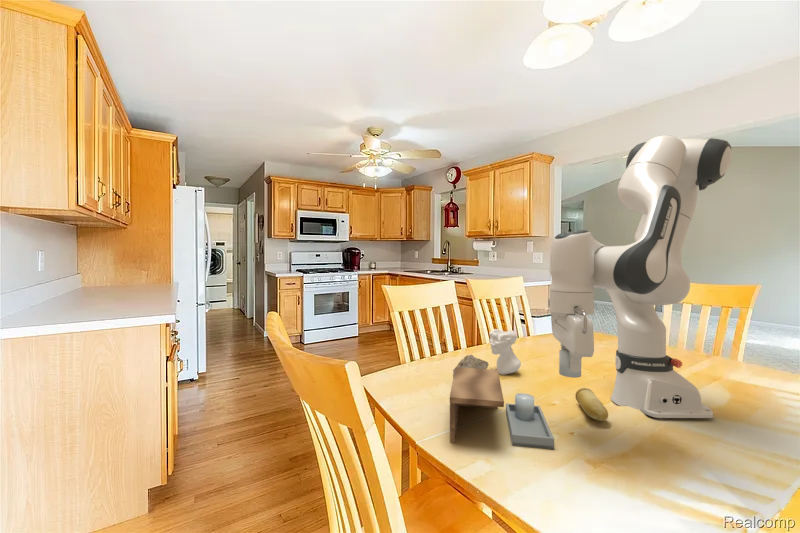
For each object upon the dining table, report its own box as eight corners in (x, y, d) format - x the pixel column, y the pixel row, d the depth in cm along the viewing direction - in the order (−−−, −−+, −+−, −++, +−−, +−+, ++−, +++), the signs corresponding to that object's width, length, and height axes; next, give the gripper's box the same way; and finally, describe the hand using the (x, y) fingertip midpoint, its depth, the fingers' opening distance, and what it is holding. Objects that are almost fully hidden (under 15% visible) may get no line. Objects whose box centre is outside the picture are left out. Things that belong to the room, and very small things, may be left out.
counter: (497, 407, 95) (497, 369, 95) (503, 450, 74) (503, 401, 74) (455, 404, 98) (455, 367, 97) (449, 444, 76) (449, 397, 76)
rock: (462, 385, 104) (468, 351, 108) (448, 384, 110) (454, 351, 113) (493, 395, 109) (498, 361, 113) (479, 393, 115) (483, 361, 118)
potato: (574, 404, 98) (574, 385, 98) (595, 406, 97) (596, 387, 96) (587, 427, 84) (587, 406, 84) (612, 430, 83) (612, 408, 83)
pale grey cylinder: (532, 414, 90) (532, 394, 90) (535, 421, 86) (535, 400, 85) (514, 412, 91) (514, 392, 91) (516, 420, 86) (516, 399, 86)
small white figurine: (526, 376, 121) (526, 331, 121) (500, 381, 116) (500, 334, 116) (505, 368, 130) (506, 327, 130) (480, 372, 125) (481, 329, 125)
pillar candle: (577, 372, 81) (578, 349, 81) (583, 378, 77) (584, 354, 77) (557, 370, 82) (557, 348, 82) (561, 376, 78) (562, 353, 78)
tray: (539, 414, 91) (539, 406, 91) (554, 449, 74) (554, 438, 74) (505, 411, 93) (505, 403, 92) (512, 445, 76) (512, 434, 76)
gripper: (603, 311, 69) (602, 383, 69) (574, 299, 89) (573, 356, 89) (567, 310, 70) (567, 381, 70) (546, 299, 90) (546, 354, 90)
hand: (570, 367), depth 80 cm, fingers closed on pillar candle, 4 cm apart
